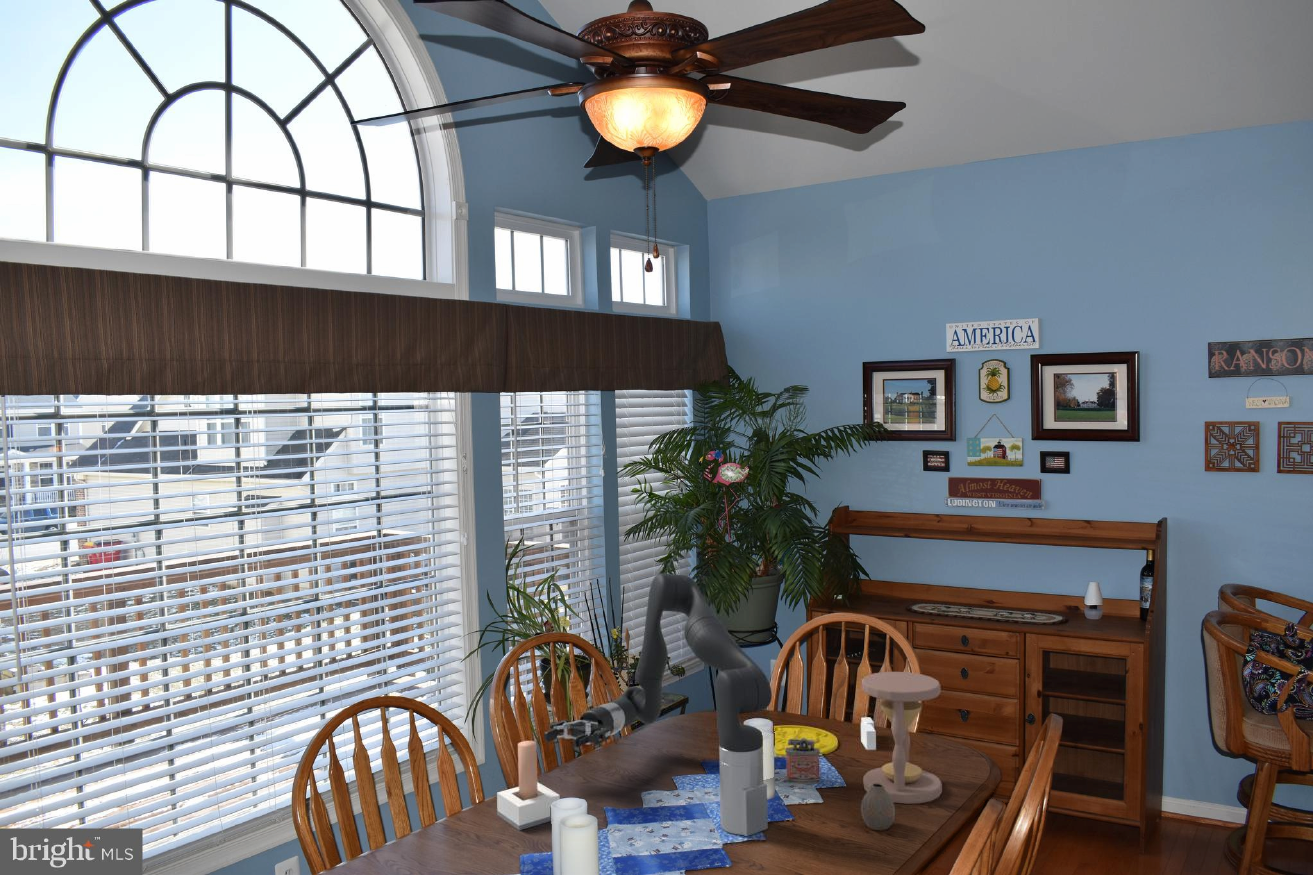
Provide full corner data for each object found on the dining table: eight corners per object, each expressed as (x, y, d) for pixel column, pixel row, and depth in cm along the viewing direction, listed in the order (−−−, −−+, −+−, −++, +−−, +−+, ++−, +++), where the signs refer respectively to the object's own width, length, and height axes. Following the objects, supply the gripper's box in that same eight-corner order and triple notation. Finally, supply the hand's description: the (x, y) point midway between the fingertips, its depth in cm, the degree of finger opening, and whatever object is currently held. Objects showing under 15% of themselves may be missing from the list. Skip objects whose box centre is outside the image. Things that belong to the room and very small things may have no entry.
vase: (870, 816, 206) (870, 776, 206) (900, 825, 201) (900, 783, 201) (855, 827, 200) (854, 786, 200) (886, 836, 196) (885, 793, 196)
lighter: (819, 778, 228) (819, 736, 228) (820, 783, 225) (820, 741, 225) (785, 777, 229) (784, 736, 229) (786, 783, 226) (785, 740, 225)
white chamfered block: (878, 756, 244) (877, 733, 244) (837, 747, 251) (837, 725, 251) (902, 739, 256) (902, 718, 256) (863, 732, 263) (862, 711, 263)
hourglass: (877, 770, 233) (875, 668, 232) (950, 783, 224) (948, 676, 223) (852, 795, 218) (851, 685, 217) (930, 809, 209) (928, 696, 208)
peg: (541, 812, 209) (539, 744, 208) (525, 817, 206) (523, 748, 206) (532, 806, 212) (530, 739, 212) (516, 811, 210) (514, 743, 209)
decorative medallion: (736, 753, 248) (736, 745, 248) (763, 725, 270) (763, 718, 269) (826, 764, 239) (826, 756, 238) (846, 735, 260) (846, 727, 260)
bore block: (560, 817, 208) (559, 795, 208) (519, 830, 202) (518, 806, 202) (537, 803, 216) (537, 781, 216) (497, 815, 210) (497, 792, 210)
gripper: (578, 702, 235) (535, 719, 222) (626, 710, 227) (584, 728, 214) (579, 732, 235) (536, 751, 222) (626, 741, 227) (585, 762, 214)
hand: (559, 740), depth 218 cm, fingers open, 8 cm apart
